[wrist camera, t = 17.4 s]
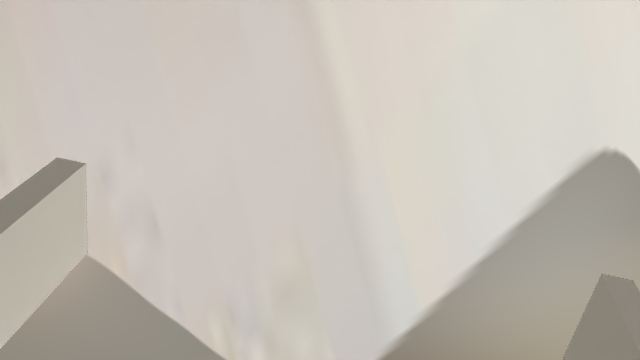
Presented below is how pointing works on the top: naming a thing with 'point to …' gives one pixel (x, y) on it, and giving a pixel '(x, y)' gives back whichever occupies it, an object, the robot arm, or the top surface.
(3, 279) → the robot arm
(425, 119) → the top surface
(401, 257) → the top surface
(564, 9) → the top surface
